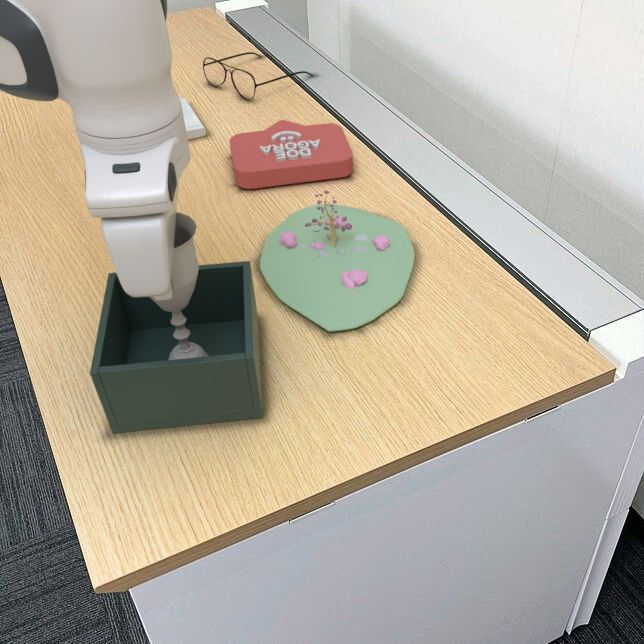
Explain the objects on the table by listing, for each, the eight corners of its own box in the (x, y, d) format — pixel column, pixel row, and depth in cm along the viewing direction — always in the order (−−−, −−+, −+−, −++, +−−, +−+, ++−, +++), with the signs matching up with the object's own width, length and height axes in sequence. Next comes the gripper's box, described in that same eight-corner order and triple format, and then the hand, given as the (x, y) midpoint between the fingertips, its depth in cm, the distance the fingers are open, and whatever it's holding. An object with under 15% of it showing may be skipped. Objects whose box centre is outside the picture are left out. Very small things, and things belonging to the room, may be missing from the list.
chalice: (220, 341, 85) (195, 207, 72) (223, 383, 80) (197, 247, 67) (156, 349, 84) (119, 215, 71) (155, 392, 79) (115, 257, 66)
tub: (112, 433, 76) (89, 373, 70) (126, 332, 87) (108, 272, 81) (263, 418, 77) (253, 357, 71) (258, 320, 89) (249, 260, 82)
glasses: (202, 82, 137) (200, 54, 134) (261, 65, 146) (260, 39, 143) (255, 104, 130) (255, 75, 127) (313, 85, 139) (314, 58, 136)
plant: (453, 308, 89) (459, 248, 83) (288, 345, 85) (282, 285, 79) (384, 202, 107) (385, 145, 100) (245, 228, 103) (237, 171, 96)
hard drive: (139, 106, 127) (156, 137, 119) (185, 96, 129) (205, 126, 121) (141, 115, 128) (158, 146, 120) (186, 105, 130) (206, 135, 122)
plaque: (336, 110, 119) (355, 155, 109) (336, 132, 122) (355, 178, 112) (226, 122, 117) (234, 170, 107) (229, 144, 120) (238, 193, 109)
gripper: (111, 94, 70) (142, 216, 80) (81, 213, 56) (124, 345, 65) (178, 89, 71) (201, 211, 80) (166, 206, 56) (195, 338, 66)
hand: (166, 272), depth 73 cm, fingers closed on chalice, 6 cm apart
